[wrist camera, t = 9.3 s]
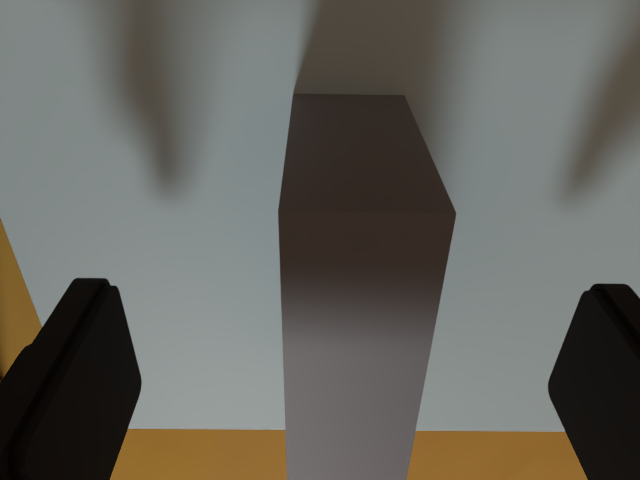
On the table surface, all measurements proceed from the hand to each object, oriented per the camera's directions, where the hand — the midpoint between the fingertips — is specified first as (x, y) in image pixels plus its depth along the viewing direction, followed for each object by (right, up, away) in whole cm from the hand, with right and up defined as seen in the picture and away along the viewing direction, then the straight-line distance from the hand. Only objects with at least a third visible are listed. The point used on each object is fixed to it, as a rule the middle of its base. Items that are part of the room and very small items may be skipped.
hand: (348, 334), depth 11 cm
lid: (0, +3, +4) cm, 5 cm away
